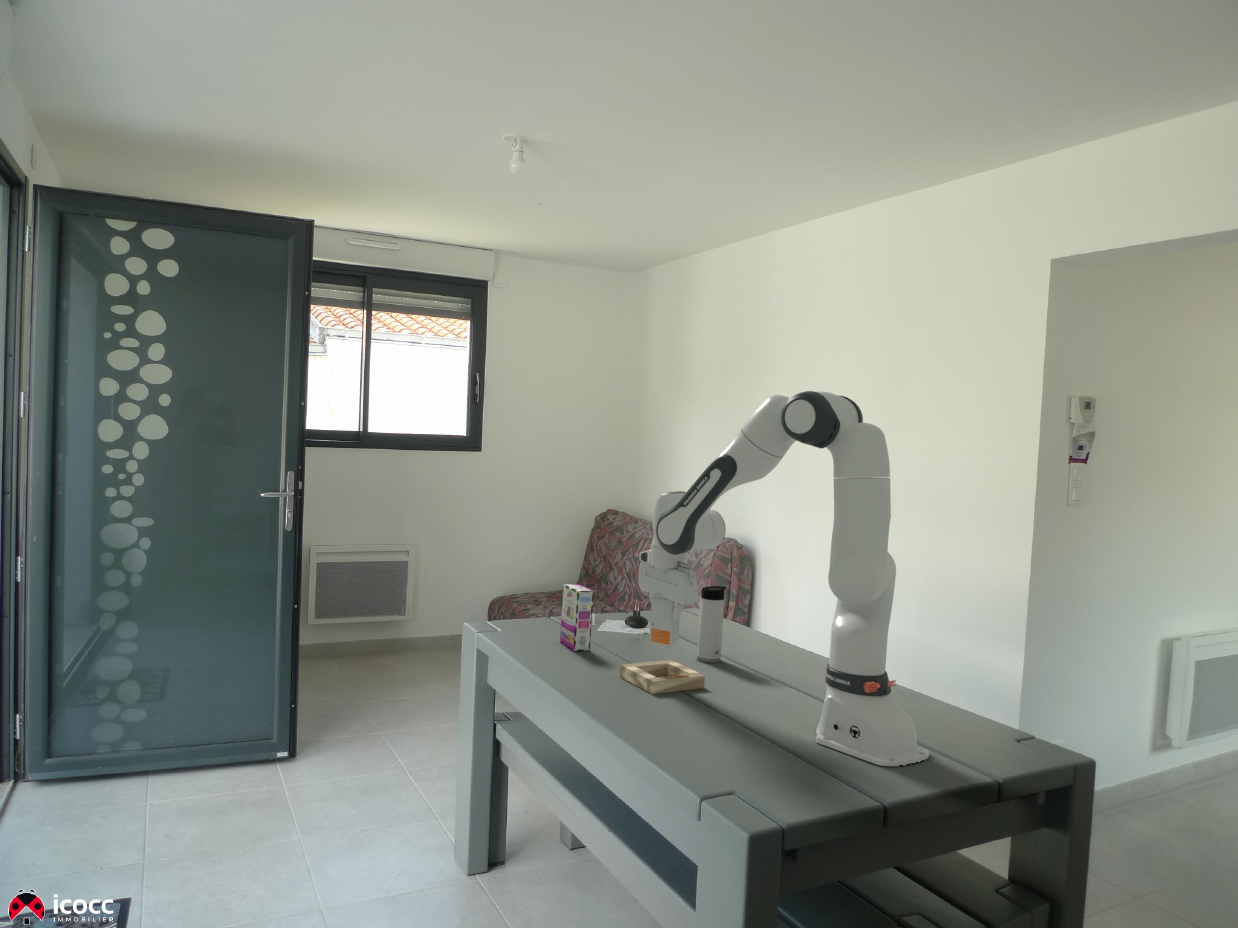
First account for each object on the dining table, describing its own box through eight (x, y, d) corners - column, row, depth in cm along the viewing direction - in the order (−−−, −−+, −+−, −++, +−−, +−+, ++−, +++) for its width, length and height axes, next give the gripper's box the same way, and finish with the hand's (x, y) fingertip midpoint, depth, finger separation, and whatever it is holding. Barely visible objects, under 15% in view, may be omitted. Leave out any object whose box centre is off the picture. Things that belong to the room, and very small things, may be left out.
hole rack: (704, 687, 202) (704, 674, 202) (652, 694, 195) (653, 680, 195) (669, 671, 215) (670, 658, 215) (619, 676, 207) (620, 663, 207)
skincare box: (648, 643, 204) (651, 593, 204) (656, 640, 208) (659, 591, 208) (671, 647, 201) (673, 597, 201) (679, 644, 205) (681, 595, 205)
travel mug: (722, 663, 225) (727, 588, 224) (697, 662, 225) (702, 587, 225) (720, 657, 231) (725, 584, 231) (696, 656, 231) (700, 582, 231)
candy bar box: (591, 651, 231) (594, 590, 230) (574, 652, 228) (577, 591, 228) (575, 641, 241) (579, 583, 240) (559, 641, 239) (562, 583, 238)
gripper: (705, 565, 197) (701, 624, 197) (656, 552, 214) (653, 606, 215) (683, 566, 193) (679, 626, 194) (635, 552, 211) (632, 607, 211)
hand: (665, 616), depth 204 cm, fingers open, 7 cm apart
